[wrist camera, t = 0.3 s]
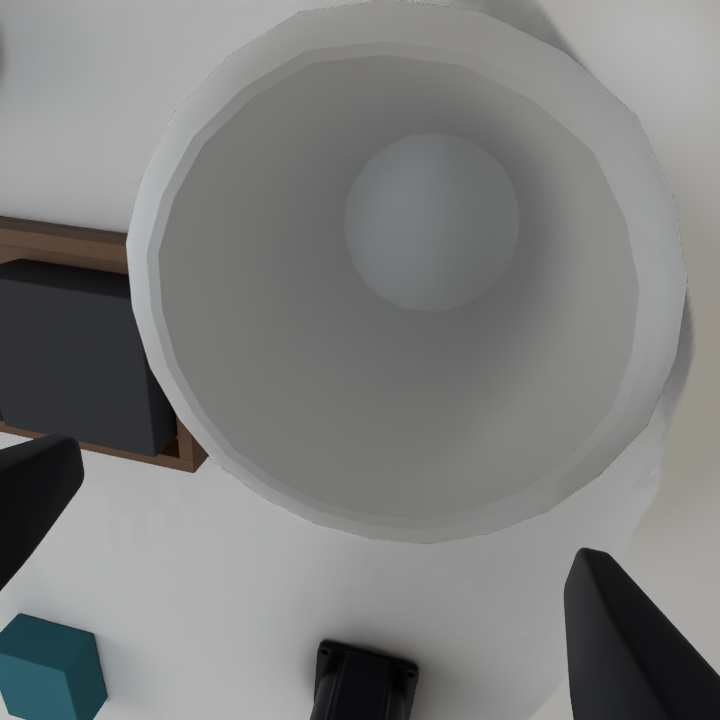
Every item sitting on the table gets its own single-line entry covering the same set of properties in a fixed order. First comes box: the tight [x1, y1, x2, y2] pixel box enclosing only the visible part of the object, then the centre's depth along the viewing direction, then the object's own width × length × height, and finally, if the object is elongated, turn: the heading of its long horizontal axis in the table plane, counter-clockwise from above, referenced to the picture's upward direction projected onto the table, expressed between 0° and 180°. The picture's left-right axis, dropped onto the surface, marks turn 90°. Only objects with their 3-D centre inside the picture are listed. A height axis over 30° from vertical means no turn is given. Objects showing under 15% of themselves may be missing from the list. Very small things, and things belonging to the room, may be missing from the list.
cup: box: [126, 0, 688, 544], centre depth 14 cm, size 10×10×13 cm
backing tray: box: [0, 216, 209, 473], centre depth 26 cm, size 12×20×2 cm, turn 85°
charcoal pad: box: [0, 258, 178, 457], centre depth 24 cm, size 8×8×3 cm
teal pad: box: [0, 614, 107, 720], centre depth 38 cm, size 8×6×3 cm
